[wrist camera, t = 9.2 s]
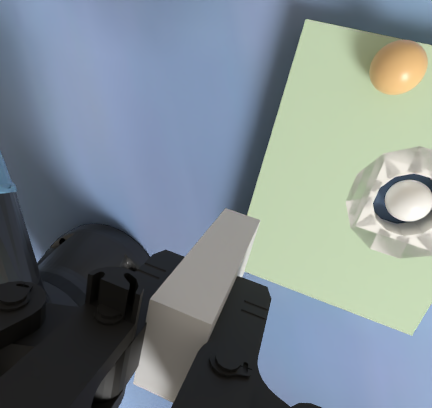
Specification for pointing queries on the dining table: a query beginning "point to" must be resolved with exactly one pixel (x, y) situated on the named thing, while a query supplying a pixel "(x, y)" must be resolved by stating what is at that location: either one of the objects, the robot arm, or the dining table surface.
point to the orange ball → (398, 67)
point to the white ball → (408, 200)
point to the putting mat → (345, 182)
